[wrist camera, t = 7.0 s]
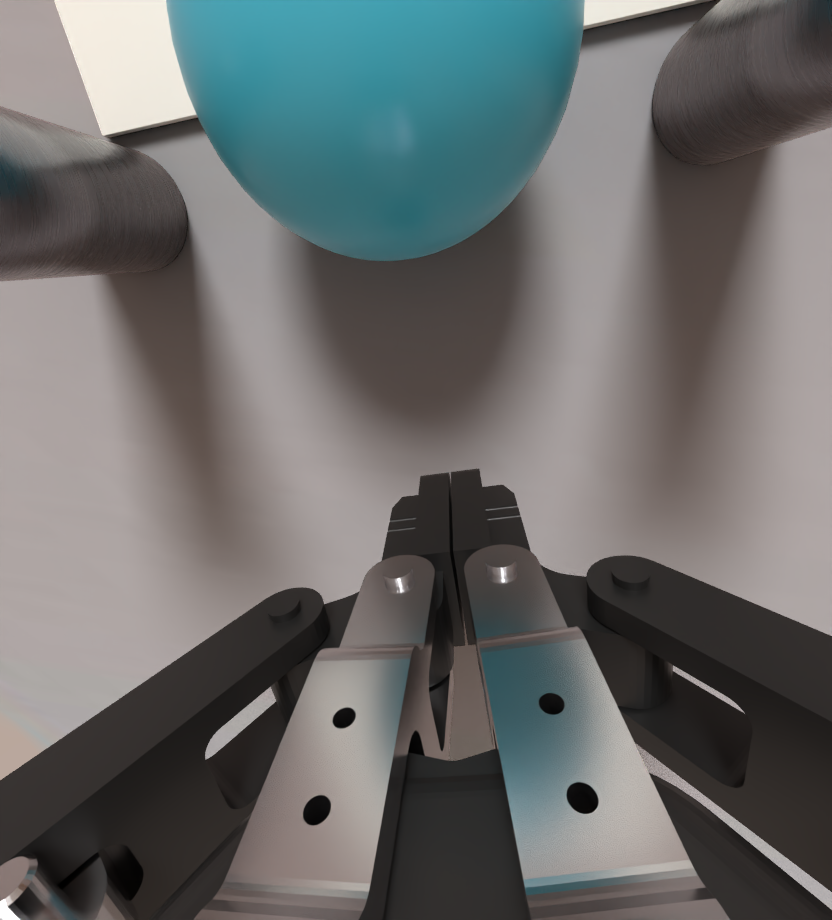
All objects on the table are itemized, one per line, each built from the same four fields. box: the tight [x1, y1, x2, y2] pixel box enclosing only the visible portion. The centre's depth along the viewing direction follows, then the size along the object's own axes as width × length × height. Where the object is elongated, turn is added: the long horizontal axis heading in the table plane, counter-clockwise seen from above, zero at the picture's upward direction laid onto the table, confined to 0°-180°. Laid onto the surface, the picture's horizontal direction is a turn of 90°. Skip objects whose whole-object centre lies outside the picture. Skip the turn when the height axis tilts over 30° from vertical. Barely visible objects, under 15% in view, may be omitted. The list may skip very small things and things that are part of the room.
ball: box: [166, 0, 585, 261], centre depth 7 cm, size 6×6×6 cm
